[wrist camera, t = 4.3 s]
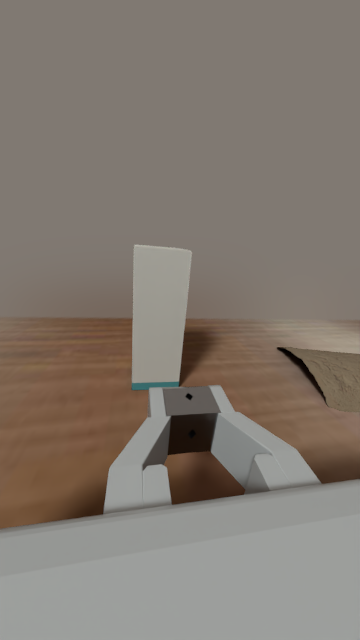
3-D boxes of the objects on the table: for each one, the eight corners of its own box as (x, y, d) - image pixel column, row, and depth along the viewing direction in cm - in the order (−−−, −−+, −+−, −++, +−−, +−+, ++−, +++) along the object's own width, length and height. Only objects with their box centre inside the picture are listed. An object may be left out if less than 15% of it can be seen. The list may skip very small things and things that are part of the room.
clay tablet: (444, 434, 20) (460, 410, 19) (336, 427, 20) (346, 402, 19) (335, 353, 34) (341, 337, 33) (270, 348, 34) (274, 332, 33)
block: (131, 390, 21) (133, 246, 17) (133, 364, 25) (135, 244, 21) (178, 388, 22) (192, 251, 17) (172, 364, 26) (181, 248, 22)
